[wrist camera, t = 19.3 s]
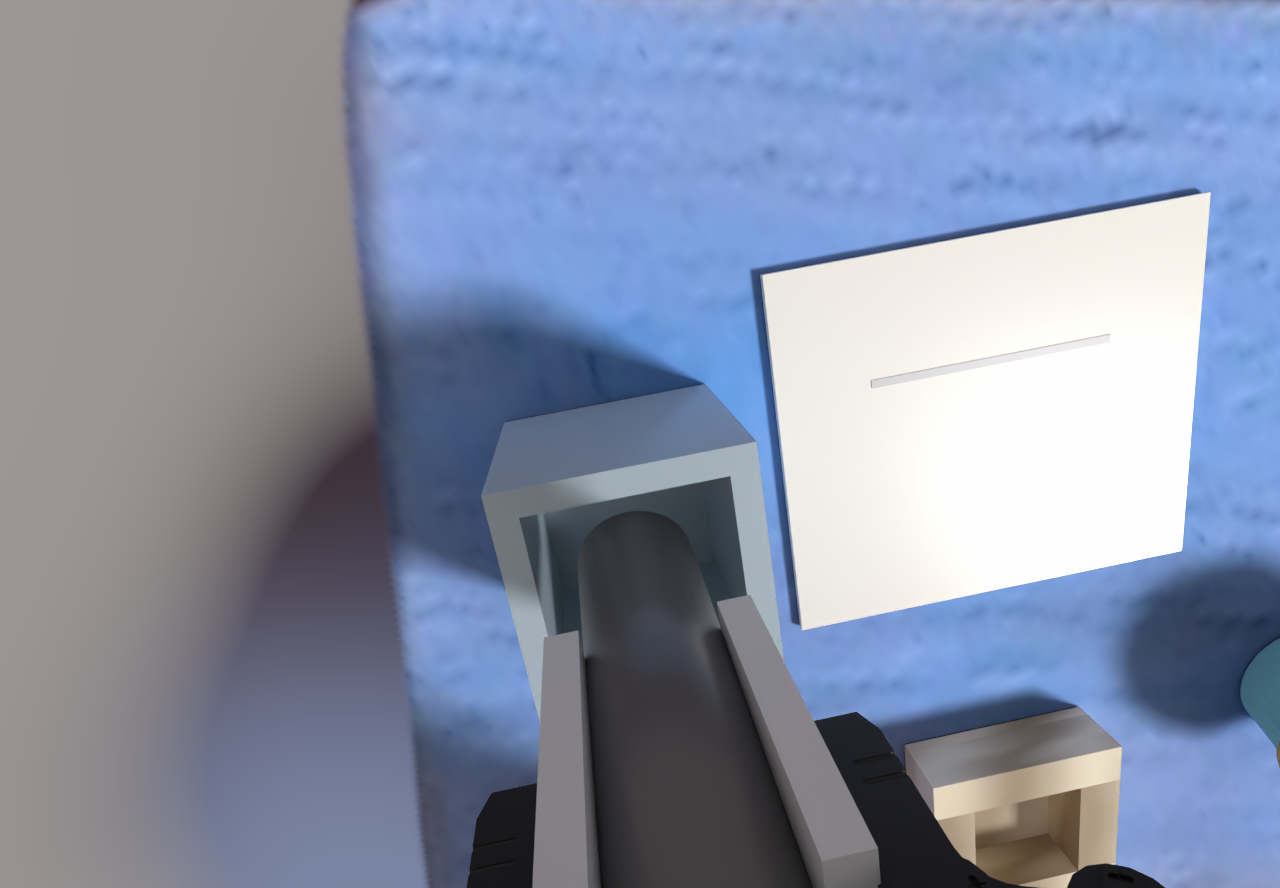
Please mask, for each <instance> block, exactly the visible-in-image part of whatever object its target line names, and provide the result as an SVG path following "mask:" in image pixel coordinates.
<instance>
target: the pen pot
mask: <svg viewBox="0 0 1280 888" xmlns="http://www.w3.org/2000/svg"><path fill="white" fill-rule="evenodd" d="M481 498H482V502H483V506H484V510H485V513H486V517H487V521H488V525H489V529H490V533H491V536H492V540H493V544H494V548H495V552H496V556H497V559H498V563H499V567H500V571H501V575H502V579H503V582H504V586H505V590H506V594H507V598H508V601H509V605H510V609H511V613H512V617H513V621H514V624H515V628H516V632H517V636H518V640H519V644H520V647H521V651H522V655H523V659H524V663H525V667H526V670H527V674H528V678H529V682H530V686H531V689H532V693H533V697H534V701H535V705H536V709H537V712H538V716H539V720H540V712H541V690H542V668H543V647H544V637H549V636H554V635H559V634H563V633H568V632H573V631H579V636H580V640H581V644H582V649H583V639H582V625H581V611H580V596H579V582H578V567H577V561H578V554H579V551H580V548H581V546H582V543H583V542H584V540H585V538H586V537H587V536H588V534H589V533H590V532H591V531H592V530H593V529H594V528H595V527H596V526H597V525H599V524H600V523H601V522H603V521H605V520H606V519H608V518H610V517H612V516H615V515H617V514H621V513H625V512H630V511H648V512H654V513H657V514H661V515H663V516H665V517H668V518H669V519H671V520H673V521H674V522H675V523H677V524H678V525H679V526H680V527H681V528H682V529H683V530H684V532H685V533H686V535H687V536H688V539H689V541H690V543H691V546H692V549H693V551H694V554H695V557H696V560H697V563H698V565H699V568H700V571H701V574H702V577H703V579H704V582H705V585H706V588H707V591H708V593H709V596H710V599H711V602H712V604H713V607H714V610H715V613H716V616H717V618H718V621H719V614H718V608H717V602H718V601H722V600H727V599H732V598H737V597H742V596H747V595H751V597H752V599H753V601H754V603H755V605H756V607H757V609H758V611H759V613H760V615H761V617H762V619H763V621H764V623H765V625H766V627H767V629H768V631H769V633H770V635H771V637H772V639H773V641H774V643H775V645H776V647H777V649H778V651H779V653H780V655H781V657H782V659H783V661H784V658H783V650H782V642H781V634H780V626H779V618H778V610H777V602H776V594H775V585H774V577H773V569H772V561H771V553H770V545H769V537H768V529H767V521H766V513H765V505H764V497H763V489H762V481H761V473H760V465H759V457H758V449H757V441H756V440H755V439H754V438H753V437H752V436H751V435H750V434H749V433H748V431H747V430H746V429H745V428H744V427H743V426H742V425H741V424H740V422H739V421H738V420H737V419H736V418H735V417H734V416H733V415H732V413H731V412H730V411H729V410H728V409H727V408H726V407H725V406H724V405H723V403H722V402H721V401H720V400H719V399H718V398H717V397H716V396H715V394H714V393H713V392H712V391H711V390H710V389H709V388H708V387H707V386H706V384H702V385H697V386H692V387H687V388H681V389H676V390H671V391H666V392H660V393H655V394H650V395H645V396H640V397H634V398H629V399H624V400H619V401H614V402H608V403H603V404H598V405H593V406H587V407H582V408H577V409H572V410H567V411H561V412H556V413H551V414H546V415H541V416H535V417H530V418H525V419H520V420H514V421H509V422H504V424H503V427H502V430H501V434H500V437H499V440H498V443H497V446H496V449H495V453H494V456H493V459H492V462H491V465H490V468H489V472H488V475H487V478H486V481H485V484H484V487H483V491H482V494H481ZM719 624H720V621H719Z"/></svg>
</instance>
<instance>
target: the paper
mask: <svg viewBox="0 0 1280 888" xmlns="http://www.w3.org/2000/svg"><path fill="white" fill-rule="evenodd" d="M1210 195H1211V192H1205V193H1198V194H1193V195H1188V196H1182V197H1177V198H1171V199H1166V200H1161V201H1155V202H1150V203H1144V204H1139V205H1134V206H1128V207H1123V208H1117V209H1112V210H1107V211H1101V212H1096V213H1090V214H1085V215H1080V216H1074V217H1069V218H1063V219H1058V220H1053V221H1047V222H1042V223H1036V224H1031V225H1026V226H1020V227H1015V228H1009V229H1004V230H999V231H993V232H988V233H982V234H977V235H972V236H966V237H961V238H955V239H950V240H945V241H939V242H934V243H928V244H923V245H918V246H912V247H907V248H901V249H896V250H891V251H885V252H880V253H874V254H869V255H864V256H858V257H853V258H847V259H842V260H837V261H831V262H826V263H820V264H815V265H809V266H804V267H799V268H793V269H788V270H782V271H777V272H772V273H766V274H761V275H760V279H761V288H762V297H763V306H764V314H765V323H766V332H767V341H768V350H769V358H770V367H771V376H772V385H773V394H774V402H775V411H776V420H777V429H778V438H779V446H780V455H781V464H782V473H783V481H784V490H785V499H786V508H787V517H788V525H789V534H790V543H791V552H792V561H793V569H794V578H795V587H796V596H797V605H798V613H799V622H800V627H801V629H802V630H806V629H811V628H816V627H820V626H825V625H830V624H835V623H840V622H844V621H849V620H854V619H859V618H863V617H868V616H873V615H878V614H883V613H887V612H892V611H897V610H902V609H906V608H911V607H916V606H921V605H925V604H930V603H935V602H940V601H945V600H949V599H954V598H959V597H964V596H968V595H973V594H978V593H983V592H987V591H992V590H997V589H1002V588H1007V587H1011V586H1016V585H1021V584H1026V583H1030V582H1035V581H1040V580H1045V579H1049V578H1054V577H1059V576H1064V575H1069V574H1073V573H1078V572H1083V571H1088V570H1092V569H1097V568H1102V567H1107V566H1112V565H1116V564H1121V563H1126V562H1131V561H1135V560H1140V559H1145V558H1150V557H1154V556H1159V555H1164V554H1169V553H1174V552H1178V551H1182V541H1183V529H1184V517H1185V504H1186V492H1187V479H1188V467H1189V455H1190V442H1191V430H1192V418H1193V405H1194V393H1195V380H1196V368H1197V356H1198V343H1199V331H1200V319H1201V306H1202V294H1203V281H1204V269H1205V257H1206V244H1207V232H1208V220H1209V207H1210Z"/></svg>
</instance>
